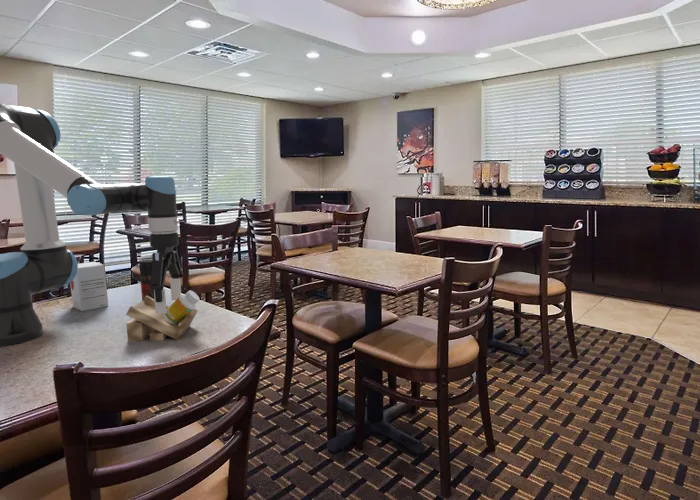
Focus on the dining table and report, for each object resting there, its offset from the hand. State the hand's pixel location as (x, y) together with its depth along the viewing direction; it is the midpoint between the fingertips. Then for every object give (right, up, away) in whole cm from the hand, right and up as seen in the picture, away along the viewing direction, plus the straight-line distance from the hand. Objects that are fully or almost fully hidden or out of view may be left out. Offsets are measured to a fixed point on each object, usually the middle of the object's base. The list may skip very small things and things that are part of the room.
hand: (169, 306), depth 134 cm
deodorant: (-20, -3, +36) cm, 41 cm away
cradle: (-2, -8, +1) cm, 8 cm away
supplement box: (-39, -4, +30) cm, 49 cm away
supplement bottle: (0, -4, +1) cm, 4 cm away
